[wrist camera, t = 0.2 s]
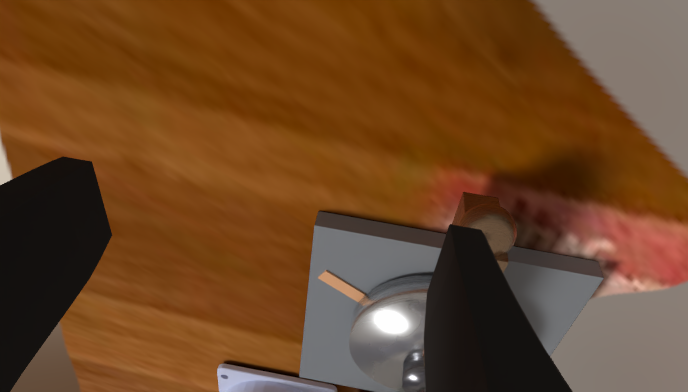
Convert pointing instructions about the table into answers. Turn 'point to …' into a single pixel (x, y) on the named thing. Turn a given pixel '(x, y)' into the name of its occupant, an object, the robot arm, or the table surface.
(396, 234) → the stand plate
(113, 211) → the table surface
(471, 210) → the cam
